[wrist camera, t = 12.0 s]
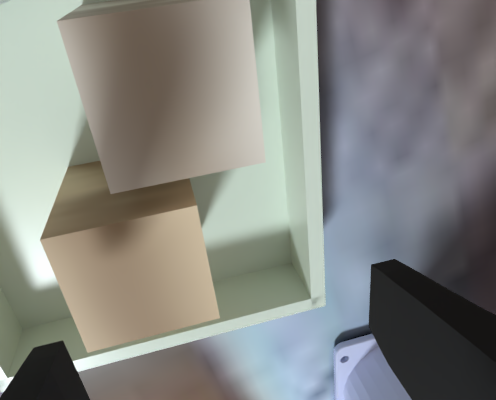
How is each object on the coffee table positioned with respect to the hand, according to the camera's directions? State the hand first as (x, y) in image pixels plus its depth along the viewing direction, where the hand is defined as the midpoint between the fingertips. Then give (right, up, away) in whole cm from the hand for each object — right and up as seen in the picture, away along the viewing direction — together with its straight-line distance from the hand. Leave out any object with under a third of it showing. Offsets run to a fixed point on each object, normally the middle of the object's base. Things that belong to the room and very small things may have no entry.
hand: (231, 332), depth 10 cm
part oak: (-4, +3, +6) cm, 8 cm away
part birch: (-2, +8, +4) cm, 9 cm away
